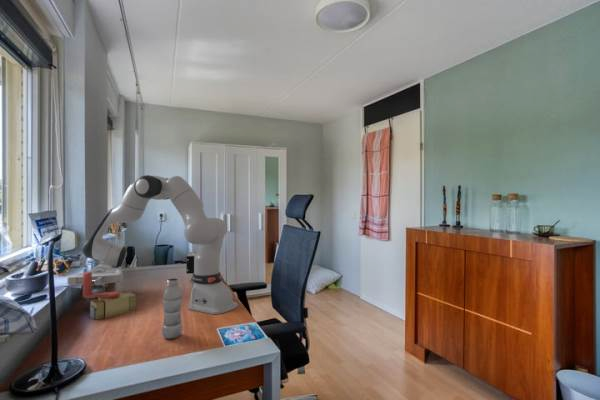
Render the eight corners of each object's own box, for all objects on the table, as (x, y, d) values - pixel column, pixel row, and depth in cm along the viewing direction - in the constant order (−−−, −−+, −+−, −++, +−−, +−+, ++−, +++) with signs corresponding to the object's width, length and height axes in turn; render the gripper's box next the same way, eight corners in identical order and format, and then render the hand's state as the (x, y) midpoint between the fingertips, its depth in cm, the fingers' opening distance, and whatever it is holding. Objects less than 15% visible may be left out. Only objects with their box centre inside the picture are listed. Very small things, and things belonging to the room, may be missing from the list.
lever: (120, 294, 132) (121, 270, 132) (117, 297, 128) (117, 272, 128) (85, 295, 129) (85, 271, 129) (80, 298, 125) (80, 274, 125)
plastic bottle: (175, 331, 113) (176, 276, 113) (185, 336, 108) (186, 279, 108) (158, 337, 108) (158, 279, 108) (168, 343, 103) (168, 283, 103)
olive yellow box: (129, 305, 139) (130, 290, 139) (137, 309, 134) (137, 294, 134) (88, 315, 126) (88, 299, 126) (95, 320, 121) (95, 303, 121)
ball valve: (202, 285, 171) (202, 253, 171) (185, 286, 169) (186, 254, 169) (203, 277, 188) (204, 248, 188) (188, 278, 186) (189, 248, 186)
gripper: (74, 269, 139) (60, 276, 126) (125, 266, 145) (117, 274, 132) (74, 283, 140) (60, 292, 126) (125, 280, 146) (117, 288, 132)
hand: (90, 282), depth 129 cm, fingers closed
